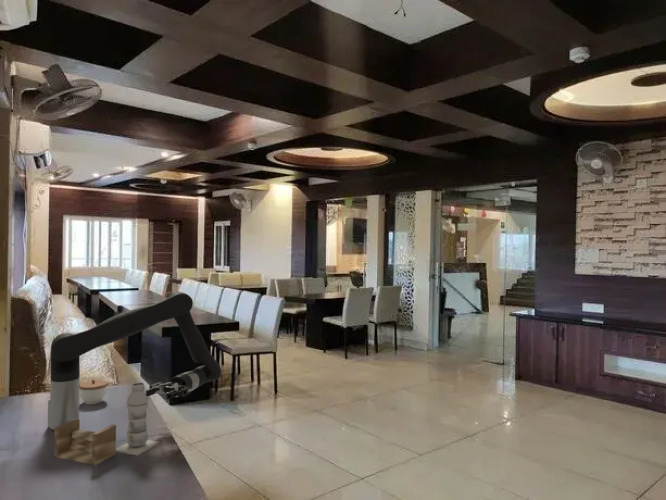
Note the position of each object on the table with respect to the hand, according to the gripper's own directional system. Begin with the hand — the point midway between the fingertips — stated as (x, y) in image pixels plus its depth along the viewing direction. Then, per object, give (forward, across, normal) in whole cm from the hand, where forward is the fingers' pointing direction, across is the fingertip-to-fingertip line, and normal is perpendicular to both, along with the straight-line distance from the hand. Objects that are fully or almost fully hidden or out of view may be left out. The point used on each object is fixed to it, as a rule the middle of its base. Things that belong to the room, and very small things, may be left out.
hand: (157, 395), depth 169 cm
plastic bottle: (+11, +1, +14) cm, 17 cm away
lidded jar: (-20, -47, +14) cm, 53 cm away
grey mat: (+11, +1, +14) cm, 18 cm away
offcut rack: (+21, -10, +14) cm, 27 cm away
